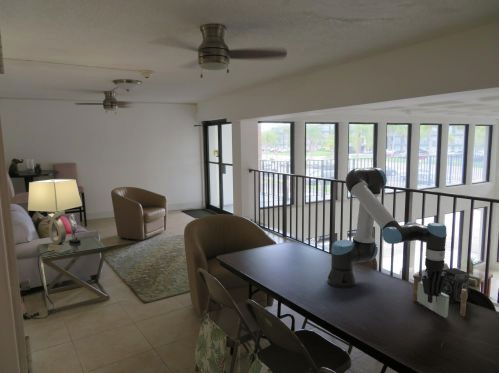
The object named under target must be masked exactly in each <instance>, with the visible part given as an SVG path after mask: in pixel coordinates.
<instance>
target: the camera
mask: <svg viewBox="0 0 499 373" xmlns="http://www.w3.org/2000/svg"><path fill="white" fill-rule="evenodd" d="M443 272H445V273H447V276H446V278H445V281H444V285H443V288H442V293H444V294H446V295H448V296H449V303H452V304H455V303H461V292H462V289H466V290H467V299H468V297H469V293H470V292H471V290H470V288H469V283H470V282H469V279H470V274H469V273H468V272H466V271H465V270H461V269H459V268H455V267H452V268H445V269H444V268H443Z"/></svg>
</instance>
